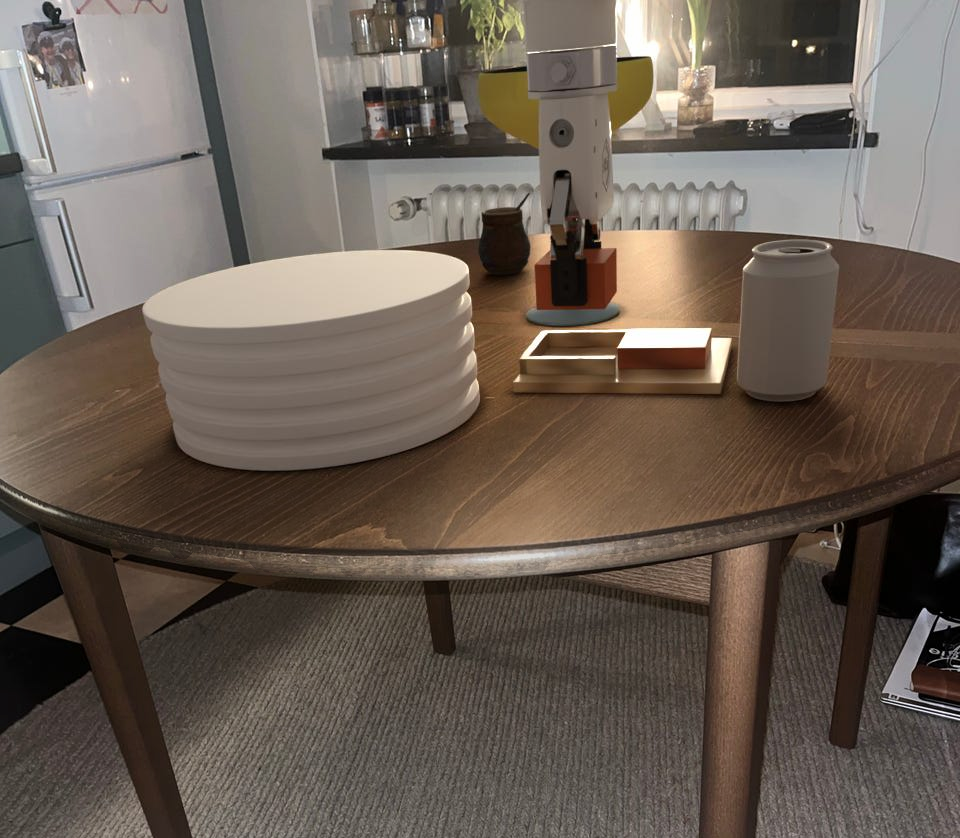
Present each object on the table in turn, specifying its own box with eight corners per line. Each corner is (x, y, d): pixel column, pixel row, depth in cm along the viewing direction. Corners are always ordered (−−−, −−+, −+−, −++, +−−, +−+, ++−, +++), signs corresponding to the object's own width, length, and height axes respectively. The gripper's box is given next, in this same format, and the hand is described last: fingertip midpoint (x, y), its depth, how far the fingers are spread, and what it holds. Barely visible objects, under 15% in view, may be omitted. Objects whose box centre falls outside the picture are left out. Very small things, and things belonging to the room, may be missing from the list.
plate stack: (542, 394, 89) (536, 263, 83) (291, 499, 73) (260, 346, 67) (355, 352, 107) (338, 241, 101) (121, 428, 91) (84, 303, 85)
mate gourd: (480, 268, 139) (474, 192, 133) (533, 264, 138) (529, 187, 133) (478, 279, 132) (472, 200, 127) (534, 275, 132) (530, 195, 127)
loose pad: (616, 292, 93) (616, 247, 91) (605, 309, 88) (604, 262, 86) (551, 293, 95) (549, 249, 93) (536, 310, 90) (534, 264, 87)
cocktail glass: (679, 300, 114) (685, 52, 101) (599, 341, 102) (594, 66, 89) (550, 290, 124) (540, 63, 110) (464, 327, 112) (441, 77, 99)
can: (837, 382, 85) (853, 236, 79) (809, 409, 80) (824, 256, 74) (754, 373, 89) (764, 234, 83) (722, 399, 84) (729, 253, 78)
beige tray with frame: (731, 347, 96) (733, 317, 95) (720, 394, 85) (722, 360, 84) (546, 348, 102) (545, 319, 100) (513, 392, 90) (511, 360, 89)
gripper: (597, 78, 73) (601, 319, 83) (632, 65, 87) (631, 273, 97) (502, 86, 76) (516, 320, 85) (550, 72, 89) (558, 275, 99)
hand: (577, 293), depth 91 cm, fingers closed on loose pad, 6 cm apart
